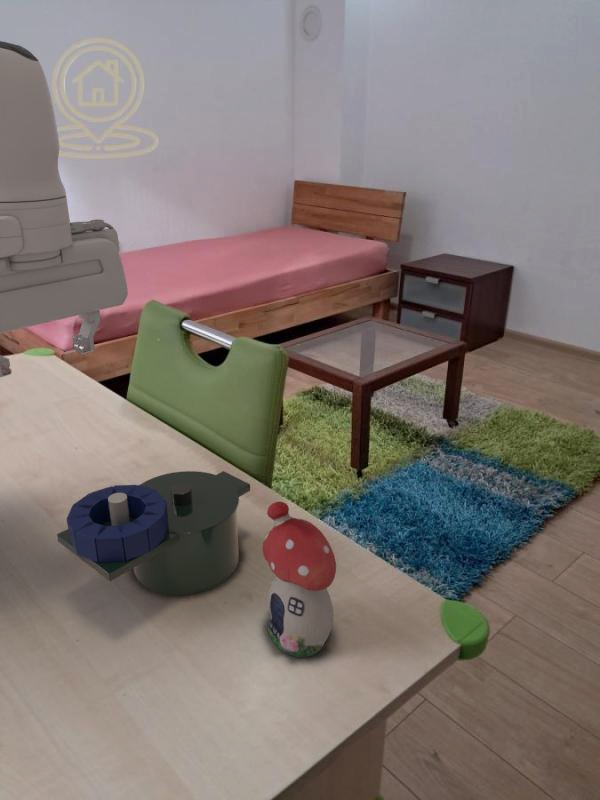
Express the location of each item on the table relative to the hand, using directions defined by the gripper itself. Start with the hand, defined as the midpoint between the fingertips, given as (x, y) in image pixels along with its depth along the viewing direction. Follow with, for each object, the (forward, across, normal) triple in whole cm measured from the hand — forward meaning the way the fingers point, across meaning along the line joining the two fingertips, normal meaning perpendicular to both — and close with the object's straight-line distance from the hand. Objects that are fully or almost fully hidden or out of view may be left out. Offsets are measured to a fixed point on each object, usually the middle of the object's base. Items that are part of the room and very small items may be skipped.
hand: (44, 363), depth 66 cm
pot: (+27, -8, +8) cm, 29 cm away
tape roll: (+18, -1, +8) cm, 20 cm away
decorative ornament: (+27, -10, +27) cm, 40 cm away
